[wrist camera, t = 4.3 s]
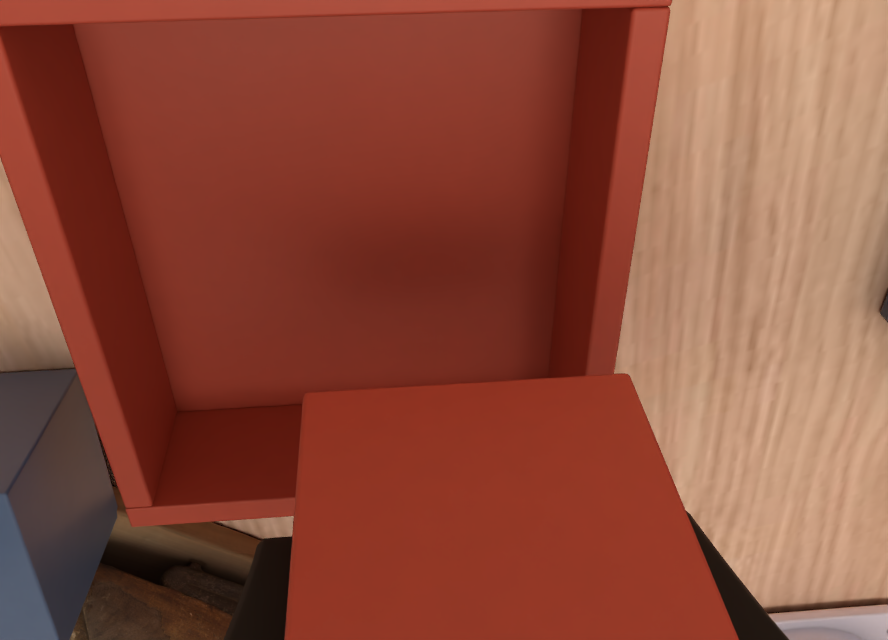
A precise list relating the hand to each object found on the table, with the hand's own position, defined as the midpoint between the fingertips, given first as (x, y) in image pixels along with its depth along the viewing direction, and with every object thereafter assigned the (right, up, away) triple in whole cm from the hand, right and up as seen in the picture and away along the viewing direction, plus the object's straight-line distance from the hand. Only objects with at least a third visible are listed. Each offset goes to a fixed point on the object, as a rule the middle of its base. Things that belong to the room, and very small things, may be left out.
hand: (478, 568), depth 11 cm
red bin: (-2, +6, +6) cm, 9 cm away
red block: (0, +1, +1) cm, 1 cm away
